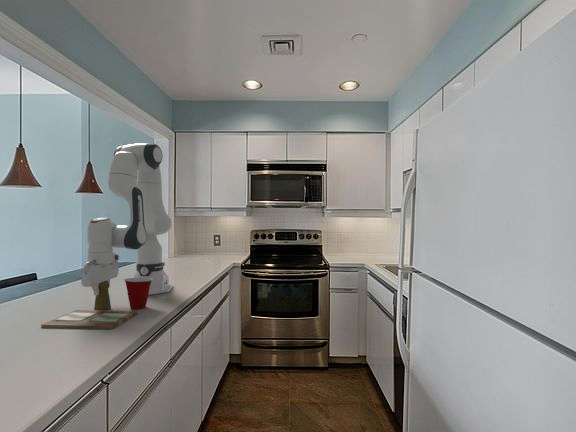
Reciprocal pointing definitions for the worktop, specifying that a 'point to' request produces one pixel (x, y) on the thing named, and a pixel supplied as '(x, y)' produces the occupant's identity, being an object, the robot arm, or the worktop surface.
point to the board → (90, 319)
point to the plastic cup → (138, 291)
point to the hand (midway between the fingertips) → (101, 293)
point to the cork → (103, 297)
